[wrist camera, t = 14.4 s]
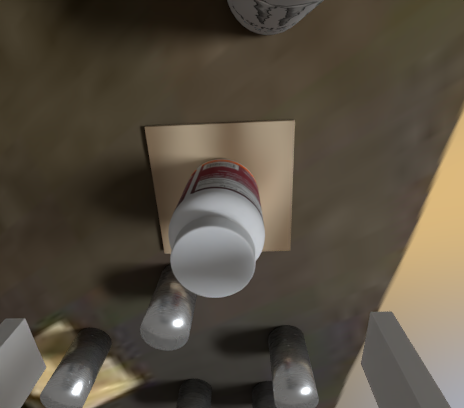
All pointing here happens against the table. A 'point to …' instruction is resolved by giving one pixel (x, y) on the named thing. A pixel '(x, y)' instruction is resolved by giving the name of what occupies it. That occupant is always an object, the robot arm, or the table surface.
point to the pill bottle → (217, 230)
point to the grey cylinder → (263, 395)
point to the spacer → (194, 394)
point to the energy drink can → (270, 14)
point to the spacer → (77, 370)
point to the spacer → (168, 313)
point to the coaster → (233, 148)
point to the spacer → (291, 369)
